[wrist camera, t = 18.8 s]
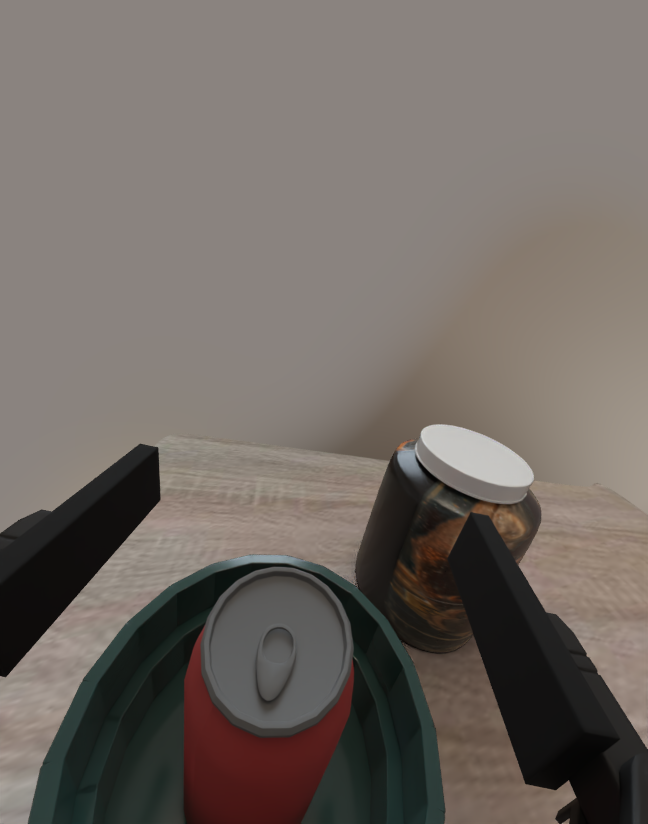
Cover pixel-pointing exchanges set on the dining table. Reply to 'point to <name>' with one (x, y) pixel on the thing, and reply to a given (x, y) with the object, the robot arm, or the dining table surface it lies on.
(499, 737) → the dining table surface
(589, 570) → the dining table surface
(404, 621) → the jar
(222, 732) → the beer can
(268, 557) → the green bowl
